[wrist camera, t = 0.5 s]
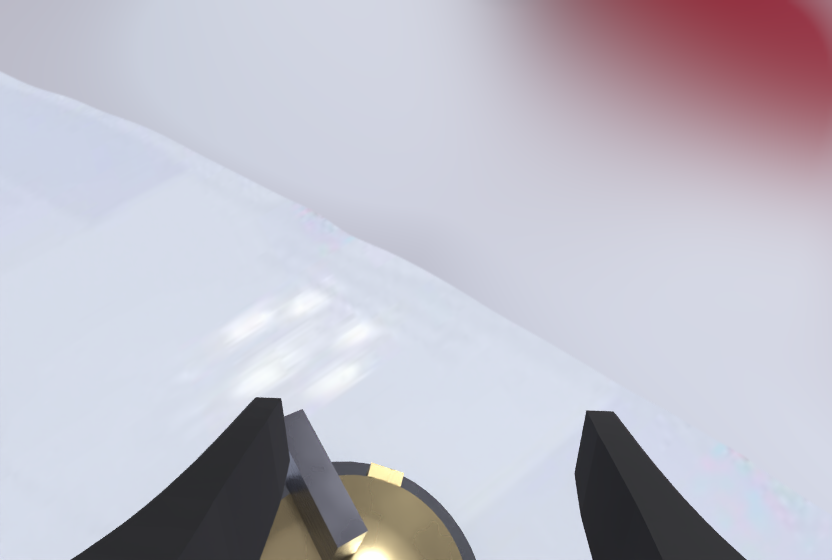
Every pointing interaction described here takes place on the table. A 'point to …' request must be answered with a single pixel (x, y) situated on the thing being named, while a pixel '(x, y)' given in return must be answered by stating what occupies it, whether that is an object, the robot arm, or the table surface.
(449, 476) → the table surface
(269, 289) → the table surface
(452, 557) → the tabbed brass dial
